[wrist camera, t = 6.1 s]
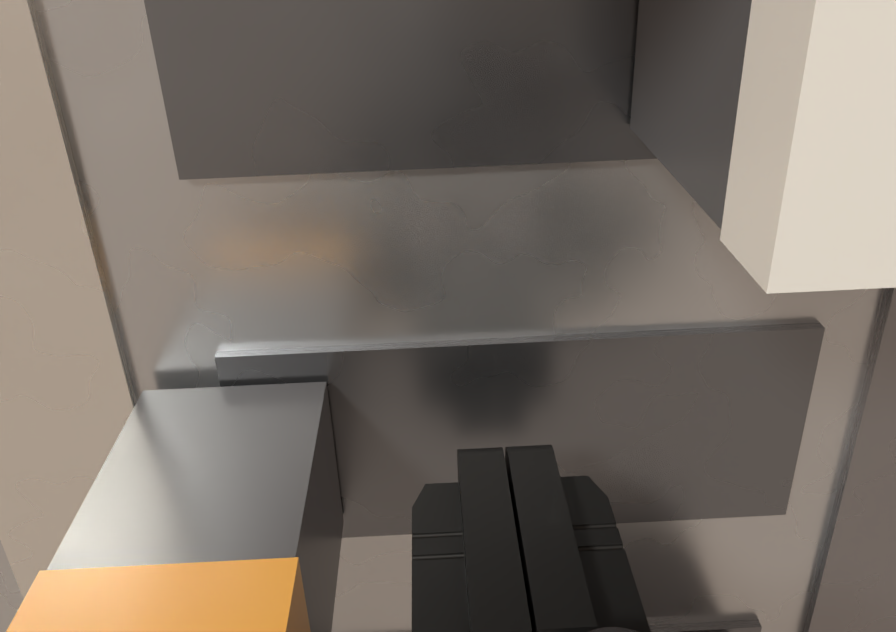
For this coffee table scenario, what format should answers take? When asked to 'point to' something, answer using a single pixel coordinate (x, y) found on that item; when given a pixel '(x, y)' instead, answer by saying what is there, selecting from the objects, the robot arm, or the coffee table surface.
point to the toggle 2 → (779, 130)
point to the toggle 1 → (204, 520)
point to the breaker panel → (426, 292)
